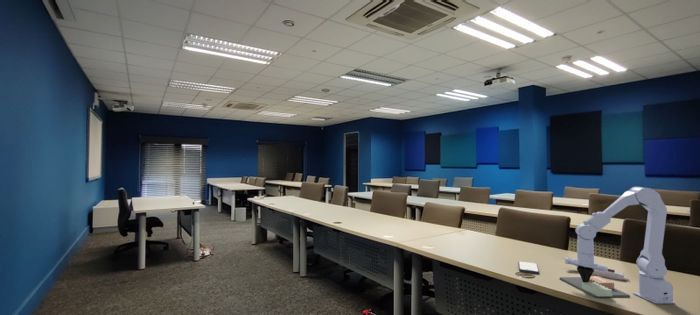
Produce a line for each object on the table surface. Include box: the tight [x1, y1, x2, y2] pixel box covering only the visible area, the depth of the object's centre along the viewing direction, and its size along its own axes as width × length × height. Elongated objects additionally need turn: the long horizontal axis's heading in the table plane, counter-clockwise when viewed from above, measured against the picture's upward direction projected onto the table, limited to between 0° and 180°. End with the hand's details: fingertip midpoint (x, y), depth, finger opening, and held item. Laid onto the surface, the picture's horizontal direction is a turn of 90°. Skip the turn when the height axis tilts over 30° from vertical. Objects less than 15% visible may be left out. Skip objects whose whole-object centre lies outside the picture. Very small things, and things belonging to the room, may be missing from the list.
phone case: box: [518, 261, 540, 275], centre depth 160 cm, size 9×2×16 cm
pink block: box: [589, 275, 615, 289], centre depth 136 cm, size 8×7×3 cm
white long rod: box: [563, 255, 630, 282], centre depth 153 cm, size 6×6×25 cm
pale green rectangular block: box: [582, 282, 612, 296], centre depth 128 cm, size 8×6×3 cm
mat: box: [559, 276, 631, 298], centre depth 136 cm, size 20×14×1 cm
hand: (585, 284), depth 134 cm, fingers closed
